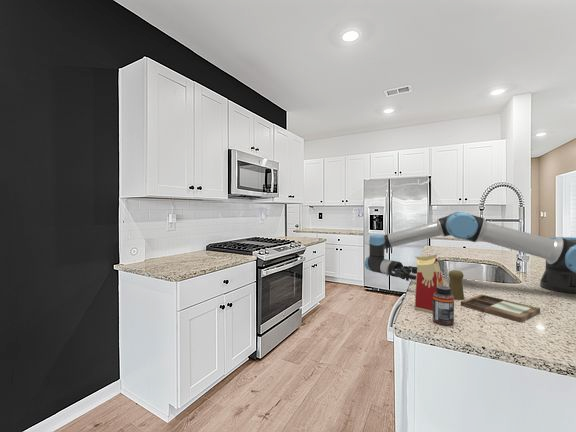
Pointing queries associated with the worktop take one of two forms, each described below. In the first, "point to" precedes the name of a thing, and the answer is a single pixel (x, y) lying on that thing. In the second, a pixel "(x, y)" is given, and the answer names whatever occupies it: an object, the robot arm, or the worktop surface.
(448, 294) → the supplement bottle
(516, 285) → the worktop surface
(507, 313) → the board
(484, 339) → the worktop surface
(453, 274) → the cork
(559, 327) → the worktop surface
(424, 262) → the milk carton
